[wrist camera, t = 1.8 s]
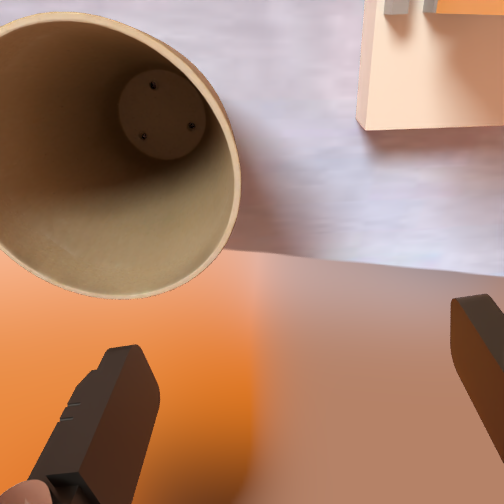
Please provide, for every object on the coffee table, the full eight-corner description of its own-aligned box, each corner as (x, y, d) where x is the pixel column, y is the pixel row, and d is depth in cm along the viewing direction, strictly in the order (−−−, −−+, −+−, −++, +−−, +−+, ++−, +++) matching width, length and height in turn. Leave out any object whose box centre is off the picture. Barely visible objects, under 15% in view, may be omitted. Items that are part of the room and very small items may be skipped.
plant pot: (258, 18, 31) (250, 26, 17) (246, 202, 39) (234, 309, 25) (58, 2, 31) (-109, -2, 17) (84, 189, 39) (-17, 290, 25)
